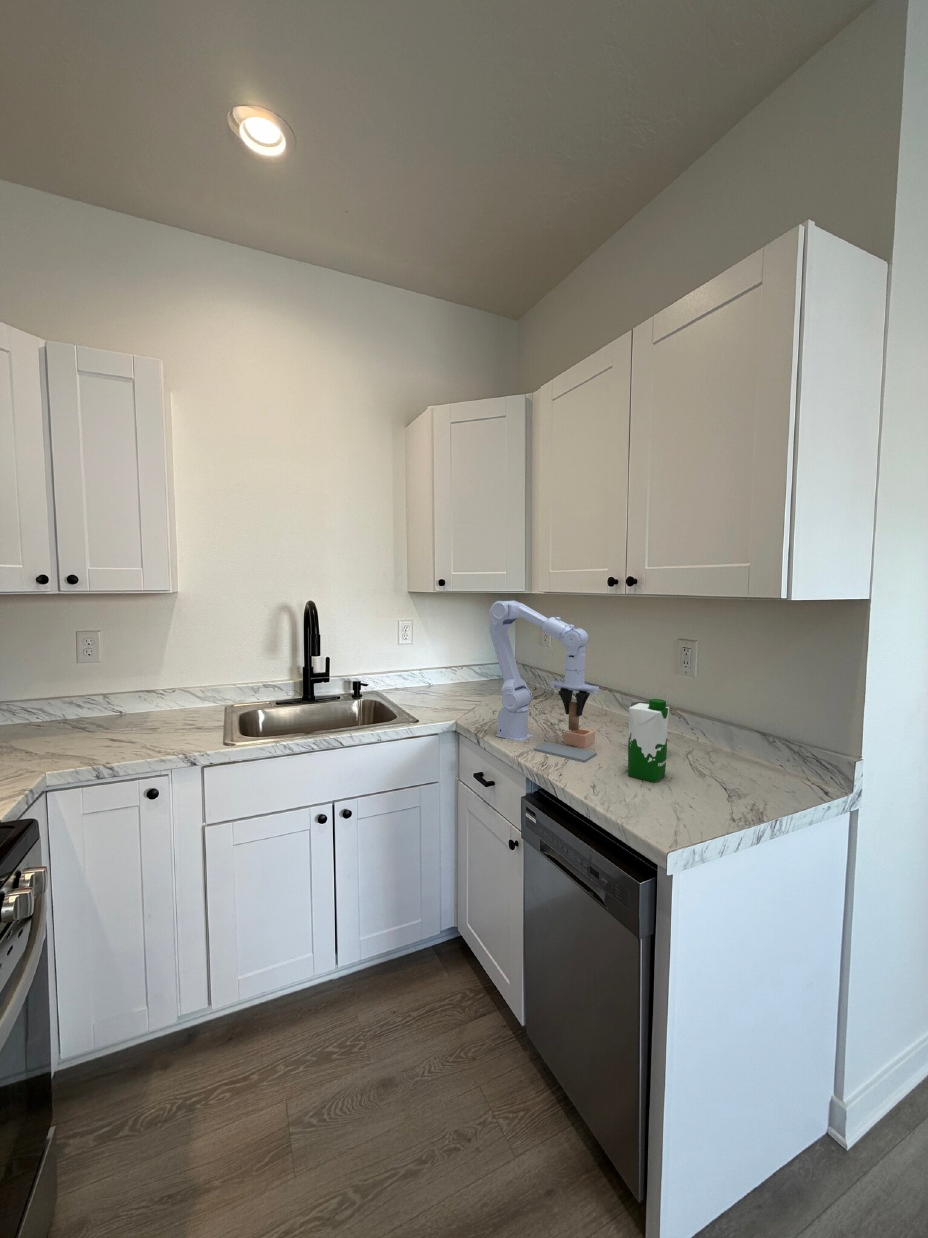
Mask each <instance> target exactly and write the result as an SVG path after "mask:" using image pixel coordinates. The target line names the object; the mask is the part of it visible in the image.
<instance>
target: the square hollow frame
mask: <svg viewBox="0 0 928 1238" xmlns="http://www.w3.org/2000/svg"><path fill="white" fill-rule="evenodd" d="M594 743H596V731H595V730H591V729H585V728H580V727H579V730H577V731H573V730H569V729H568V730H566V731H565V730H564V732H563V744H565V745H570V746H574V747H578V748H582V749H586V748H588V747H590V746H591V745H593V744H594Z"/></svg>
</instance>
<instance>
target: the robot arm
mask: <svg viewBox="0 0 928 1238" xmlns="http://www.w3.org/2000/svg"><path fill="white" fill-rule="evenodd" d="M488 614H489V616H490V619H489V633H490V638H491V640H492V644H493V647H494V648H493V649H494V652H495V655H496V659H497V662H498V664H499V669H500V672H501V677H502V680H503V683H502V687H501V689H500V691H501V704H502V706H503V707H502V708H500V709H499V711H498V714H497V725H496V726H497V731H496V732H497V733H496V734H495V736H496V737H498V738H503V739H510V740H515V741H517V742H518V741H519V742H521V741H524V740H526V739H528V738H530V737H533V736H534V734H531V733H529V709H530V708H529V705H530V704H531V703H532V701H533V693H532V691H531V690H530V688H529V687H528V685H527V682H526V681H525V680H524V679H522V677H521V675H520V672H519V667H518V664H517V661H516V657H515V654H514V650H513V648H512V643H511V640H510V636H509V632H508V631H509V629H510V628H511V626H512V624H514V623H515V622H516V621H517V620H518V619H523V620H525V621H527V622H529V623H531V624H533V625H536V626H538V627H540V628H542V629H543V632H544V634H545V635H547V636H548V637H550V638H552V639H555V640H556V641H558V642H560V643H562V645H563V646H564V648H565V662H564V664H565V665H564V667H565V668H564V681H560V680H553V681H550V688H551V689H560V690H559V691H558V695H559V697H560V700H562V704H563V707H564V711H565V712H564V713H565V715H569V702H572V698H573V693H574V691H575V699H576V700H575V702H577V716H579V717H581V716H583V712H584V708H585V705H586V702H587V701H588V698H589V697H590V695H591V694H593V695H598V694H599V693H600V687H599V686H596V685H591V684H587V683H585V680H586V679H585V677H586V676H585V675H586V674H585V673H586V646H587V645H588V643H589V634H588V632H587V631H585V630H584V629H583V628H581V627H578V628H577V627H576V628H575V625H574V624H568V623H566V622H564V621H563V620H562V618H561V617H559V616H556V617H555V616H552V617H549V618H548V617H546V616H544V615H543V614H542V613H539V612H538V611H536V610H534V609H533V608H531V607H529V606H527V605H526V604H524V603H522V602H519V601H517V600H513V599H512V600H497V601H494V603H492V605H491V607H490V609H489V610H488Z"/></svg>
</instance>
